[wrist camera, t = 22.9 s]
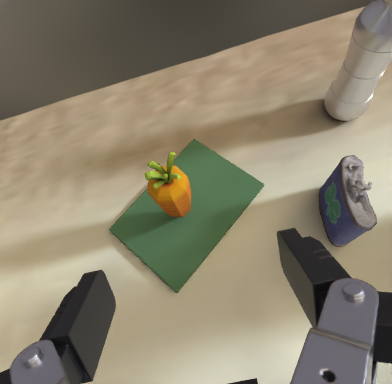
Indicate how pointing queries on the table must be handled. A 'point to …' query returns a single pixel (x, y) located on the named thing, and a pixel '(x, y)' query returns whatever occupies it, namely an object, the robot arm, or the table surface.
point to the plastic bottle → (362, 62)
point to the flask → (346, 203)
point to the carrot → (169, 187)
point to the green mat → (188, 216)
